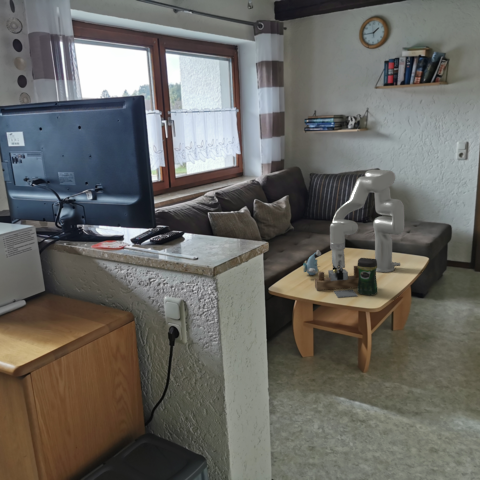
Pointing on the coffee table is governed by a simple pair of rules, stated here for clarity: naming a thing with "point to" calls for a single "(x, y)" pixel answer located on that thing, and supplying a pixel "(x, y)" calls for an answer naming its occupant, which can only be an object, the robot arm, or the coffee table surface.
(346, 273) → the lever cap
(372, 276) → the coffee jar
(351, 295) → the mat
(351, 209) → the robot arm
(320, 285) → the brown long u-shaped block
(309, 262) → the toy figure
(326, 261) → the coffee table surface
